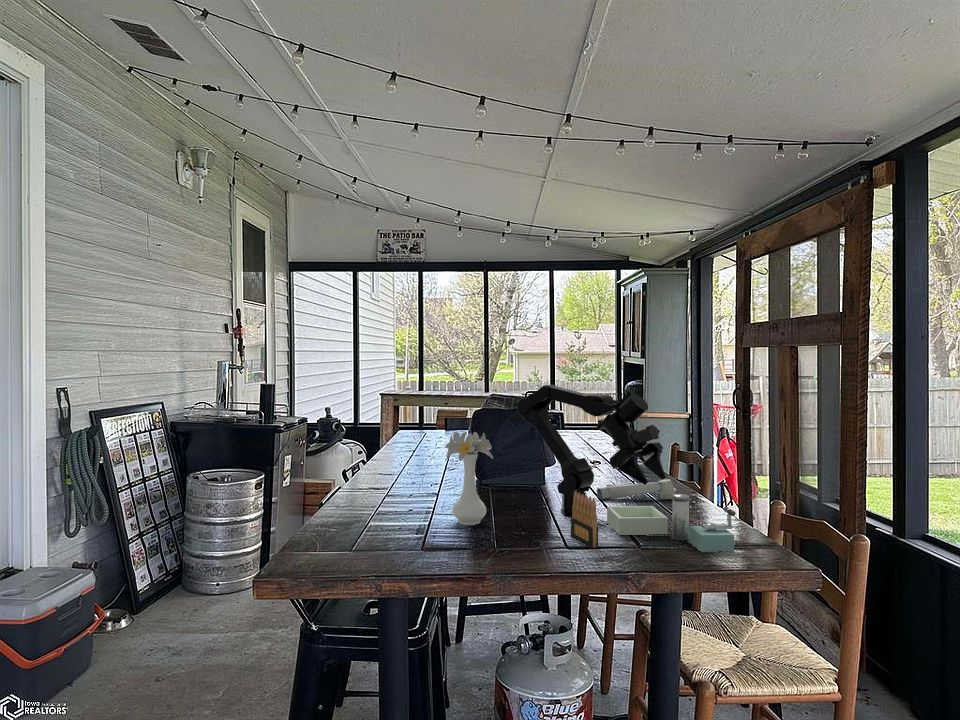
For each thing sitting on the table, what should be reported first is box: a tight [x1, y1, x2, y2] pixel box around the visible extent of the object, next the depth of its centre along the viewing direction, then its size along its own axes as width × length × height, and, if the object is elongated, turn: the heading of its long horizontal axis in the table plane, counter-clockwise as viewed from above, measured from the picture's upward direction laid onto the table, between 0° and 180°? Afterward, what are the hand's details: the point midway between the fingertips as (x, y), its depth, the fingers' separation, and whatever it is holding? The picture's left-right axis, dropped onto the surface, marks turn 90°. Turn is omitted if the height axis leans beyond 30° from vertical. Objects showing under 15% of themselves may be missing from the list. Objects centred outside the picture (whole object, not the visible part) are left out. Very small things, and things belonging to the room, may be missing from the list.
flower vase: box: [444, 431, 494, 526], centre depth 186 cm, size 13×18×25 cm
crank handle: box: [701, 506, 736, 531], centre depth 165 cm, size 7×5×5 cm
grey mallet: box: [596, 478, 677, 501], centre depth 215 cm, size 5×7×25 cm
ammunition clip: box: [570, 491, 599, 550], centre depth 168 cm, size 11×2×12 cm, turn 21°
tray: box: [606, 505, 669, 536], centre depth 180 cm, size 13×13×4 cm
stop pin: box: [671, 493, 691, 541], centre depth 171 cm, size 4×4×11 cm
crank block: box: [688, 525, 735, 553], centre depth 165 cm, size 8×8×4 cm
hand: (655, 481), depth 178 cm, fingers open, 9 cm apart
